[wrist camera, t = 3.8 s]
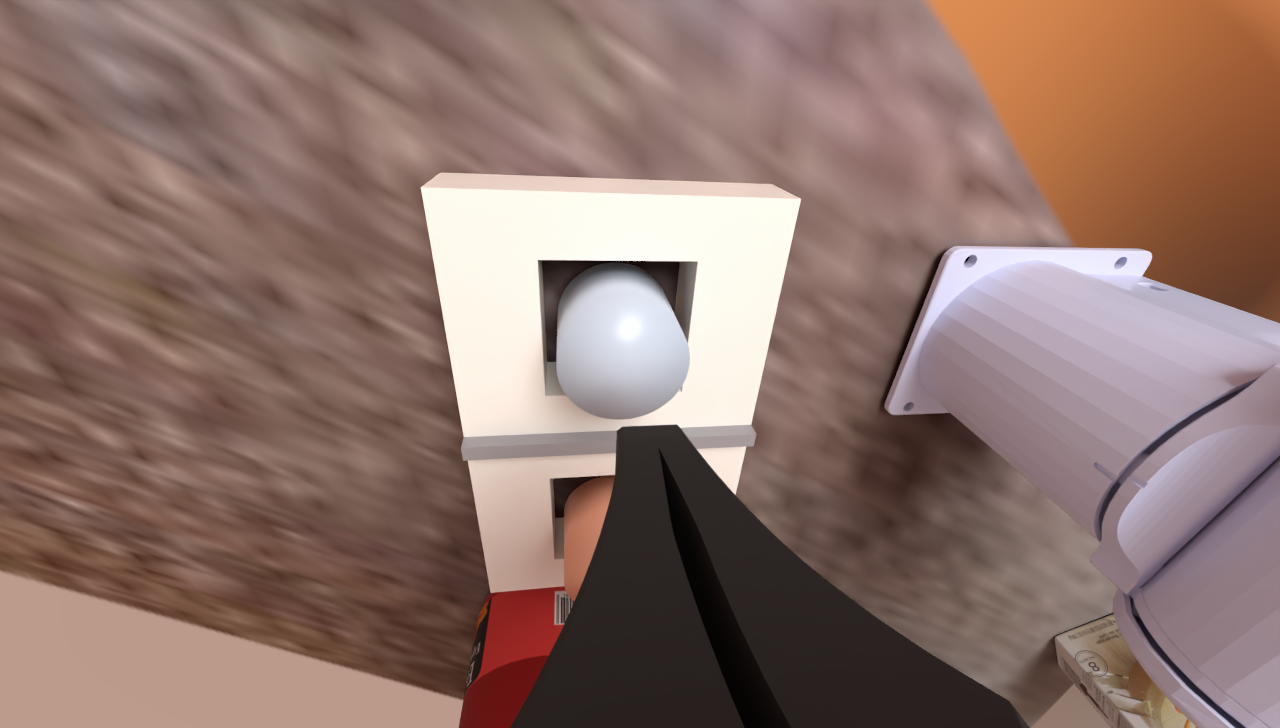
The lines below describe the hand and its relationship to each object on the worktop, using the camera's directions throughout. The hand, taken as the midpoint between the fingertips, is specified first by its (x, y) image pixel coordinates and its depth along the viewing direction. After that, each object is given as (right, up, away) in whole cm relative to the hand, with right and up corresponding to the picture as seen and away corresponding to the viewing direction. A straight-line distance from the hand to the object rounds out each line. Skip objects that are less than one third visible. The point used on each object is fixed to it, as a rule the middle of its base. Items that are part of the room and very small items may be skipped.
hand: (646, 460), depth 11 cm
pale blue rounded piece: (-1, +4, +6) cm, 8 cm away
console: (-1, +1, +10) cm, 10 cm away
